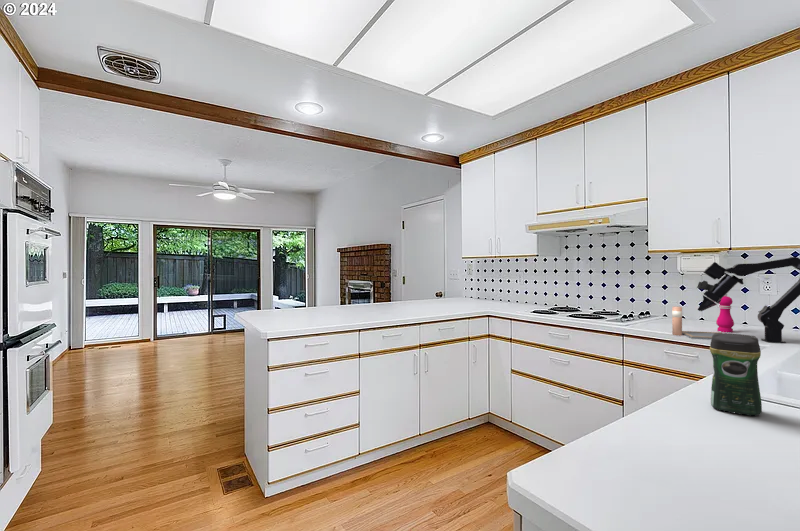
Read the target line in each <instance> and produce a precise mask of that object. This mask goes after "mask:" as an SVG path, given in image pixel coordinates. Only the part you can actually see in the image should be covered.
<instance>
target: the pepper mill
mask: <svg viewBox="0 0 800 531" xmlns="http://www.w3.org/2000/svg"><path fill="white" fill-rule="evenodd" d="M732 304H733V299H732V298H731V297H730V296H728V293H727V294H726V295H725V296H724V297H722V299H721V302H720V303H719V305H718V308H719V314H718V317H717V319H716V325H717V326H718V327H717V329H716V330H717V331H716V332H719V331H721V333H728V332H731V333H734V328H733V327H734V326H735V321H734V319H733V317H732V314H731V309H732Z"/></svg>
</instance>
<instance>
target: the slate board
mask: <svg viewBox="0 0 800 531" xmlns="http://www.w3.org/2000/svg"><path fill="white" fill-rule="evenodd" d="M715 333H722V332H719V331H716V332H715V331H697V330H696V331H693V330H692V331H690V330H682V336H686V337H687V338H689V339H692V340H693V339H695V340H711V339H712V335H713V334H715Z"/></svg>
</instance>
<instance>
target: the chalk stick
mask: <svg viewBox="0 0 800 531" xmlns="http://www.w3.org/2000/svg"><path fill="white" fill-rule="evenodd" d="M671 307H672V308H671V309H672V310H671V319H672V321H671V324H672V326H671V328H672V331H671V332H672V334H671V335H672V336H679V337H680V336H683V334H682V331H683V307H682V306H676V305H675V306H673V305H672V306H671Z"/></svg>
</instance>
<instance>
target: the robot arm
mask: <svg viewBox="0 0 800 531" xmlns="http://www.w3.org/2000/svg"><path fill="white" fill-rule="evenodd" d="M788 267H793V269H794V268H795V269H797V271H800V258H799V257H797V256H790V257H788V258H781V259H775V260H769V261H763V262H756V263H755V262H754V263H751V262H750V263H736V264H734V265H733V266H732V267H726V268H725V267H723V266H722V265H720V264H719V263H717V262H715V261H714V262H712V264H710V265H709V266H707V267H706V269H705V270H704V271H703V274H705V275H707V276H708V277H709V278H711V279H713V280H714V281H715V280H718V281H717V283H714V284H710V283H709V282H708V281H707V280H703V281H699V282H698V284H697V287H696V288H697V289H699V290H704V291H705V292H703V294H702V299H703V300H702V301H701V303H700V304H699V307H698V308H697V311H699V312H703V311H705V310H708V309H710V308H712V307H714V306H717V305H718V304H719V303H720V302H721V299H722V297H724V296H725V295H726V294H727V295H728V293H729V292H730V291H731V290H732V288H734V287H735V286H736V285H737V284H740V285H745V284H744V278H740V277H746V276H748V275H752V274H754V273H758V272H761V271H762V272H763V271H768V270H775V269H781V268H788ZM730 274H732V275H730ZM798 297H800V277H799V279H798V280H797V281H796V282H795V283H794V284H793V285H792V286H791V287H790V288H789V289H788V290H787V291H786V292H785V293H783V295H782V296H781V297H779V299H778V300H777V301H775V302H774V303H773V304H772V305H770V306H768V305H764V306H763V307H762V309H760V310H759V311H758V312H757V313H758V314H757V319H758V321H759V322H760V323H762V324H763V327H764V338H760V341H764V342H766V343H780V344H782V343H784V344H786V343H787V342H786V341H784V340H783V339H782V338H783V337H782V336H783V333H782V332H783V331H782V330H783V329H784V327H785V325H784V323H782V322H781V321H779V319H780V318H781V317H782V315H783V312H784V311H785V310H786V309H787V308H788V307H789V306H790V305H791V304H792V303H793V302H794V301H795V300H796V299H798ZM719 305H720V304H719Z"/></svg>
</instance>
